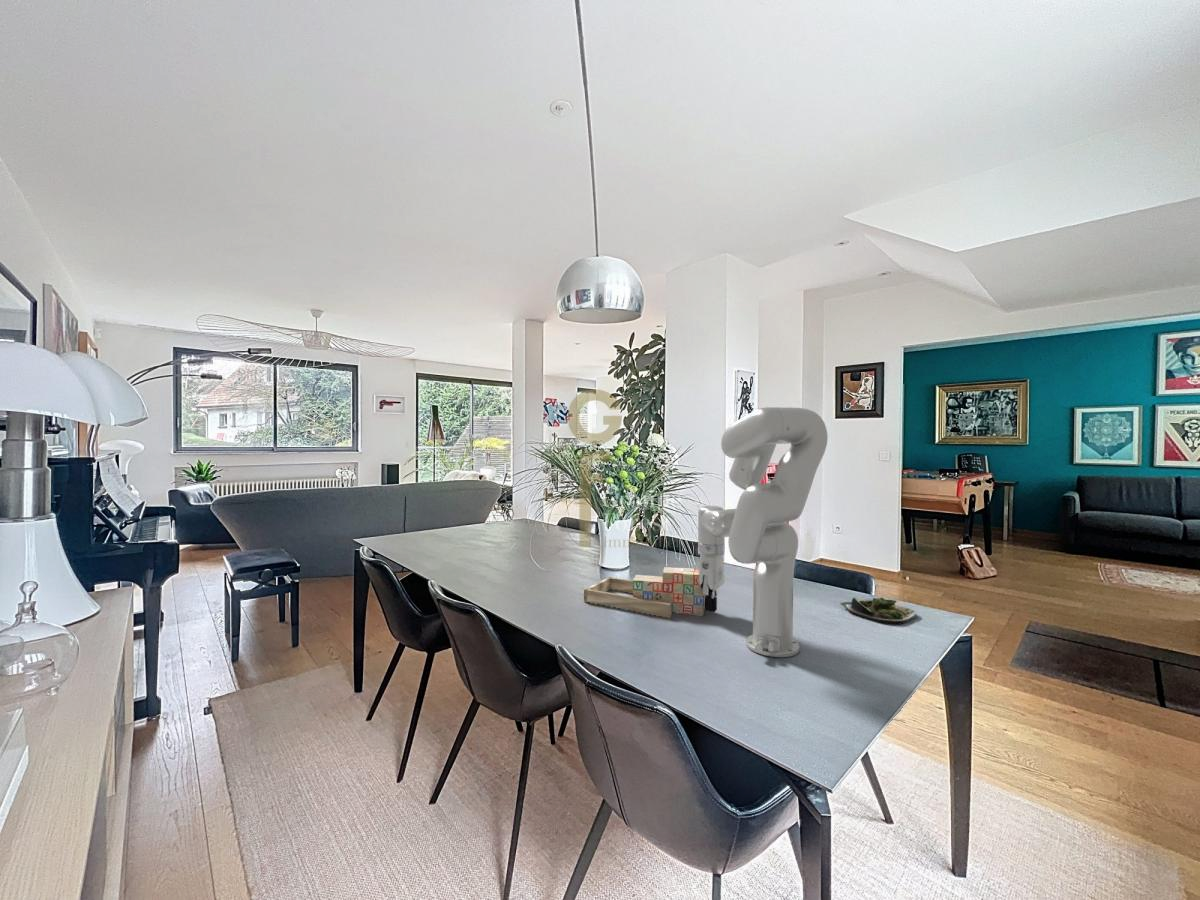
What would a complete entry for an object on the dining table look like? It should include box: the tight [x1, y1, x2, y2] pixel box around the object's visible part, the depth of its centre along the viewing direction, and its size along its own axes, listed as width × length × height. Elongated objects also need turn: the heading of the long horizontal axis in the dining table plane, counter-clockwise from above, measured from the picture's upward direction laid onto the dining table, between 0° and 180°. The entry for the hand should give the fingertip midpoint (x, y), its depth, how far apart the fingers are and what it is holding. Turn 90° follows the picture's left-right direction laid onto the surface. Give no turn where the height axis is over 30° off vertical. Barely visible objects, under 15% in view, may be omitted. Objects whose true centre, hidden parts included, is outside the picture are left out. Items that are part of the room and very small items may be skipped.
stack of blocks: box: [632, 566, 705, 616], centre depth 157 cm, size 21×6×12 cm, turn 76°
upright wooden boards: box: [583, 576, 672, 619], centre depth 163 cm, size 16×29×4 cm, turn 60°
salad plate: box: [840, 597, 917, 626], centre depth 154 cm, size 19×18×5 cm
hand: (710, 610), depth 151 cm, fingers closed
